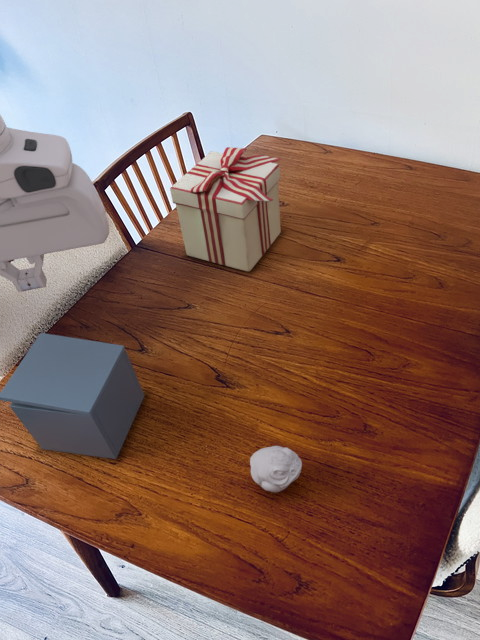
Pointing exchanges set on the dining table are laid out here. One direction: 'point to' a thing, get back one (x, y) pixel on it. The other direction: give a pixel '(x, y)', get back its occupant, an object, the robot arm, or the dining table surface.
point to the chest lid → (63, 374)
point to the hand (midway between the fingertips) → (33, 286)
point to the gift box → (229, 208)
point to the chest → (89, 418)
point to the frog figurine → (275, 468)
